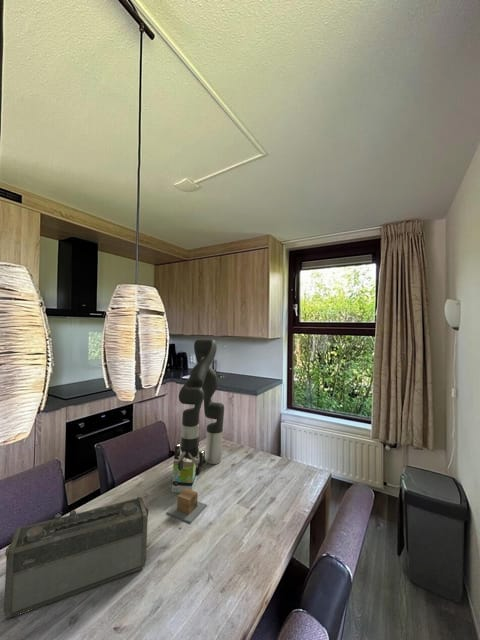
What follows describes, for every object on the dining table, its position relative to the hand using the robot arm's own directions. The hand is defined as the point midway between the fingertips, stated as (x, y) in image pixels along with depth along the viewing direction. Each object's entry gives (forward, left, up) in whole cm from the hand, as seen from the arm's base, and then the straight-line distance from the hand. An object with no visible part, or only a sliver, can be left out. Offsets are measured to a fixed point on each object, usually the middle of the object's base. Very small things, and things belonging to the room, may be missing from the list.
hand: (189, 472), depth 119 cm
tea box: (-15, -12, -16) cm, 25 cm away
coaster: (0, 0, -16) cm, 16 cm away
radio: (+40, -11, -16) cm, 44 cm away
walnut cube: (0, 0, -15) cm, 15 cm away
